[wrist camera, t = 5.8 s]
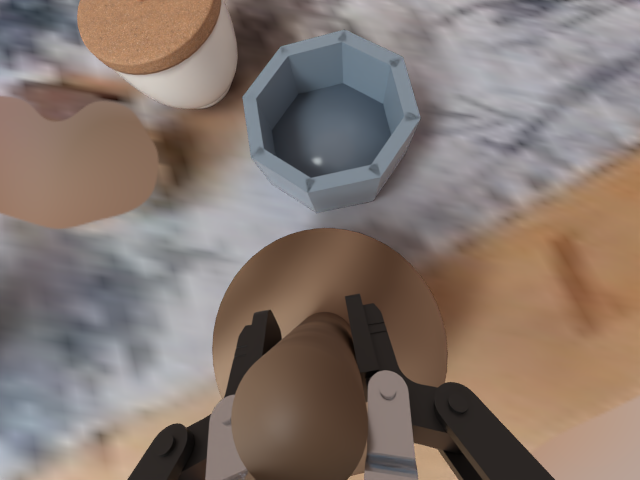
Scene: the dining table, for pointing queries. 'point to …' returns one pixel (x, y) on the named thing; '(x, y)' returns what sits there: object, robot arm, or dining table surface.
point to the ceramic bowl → (331, 119)
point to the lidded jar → (164, 47)
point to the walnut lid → (319, 350)
